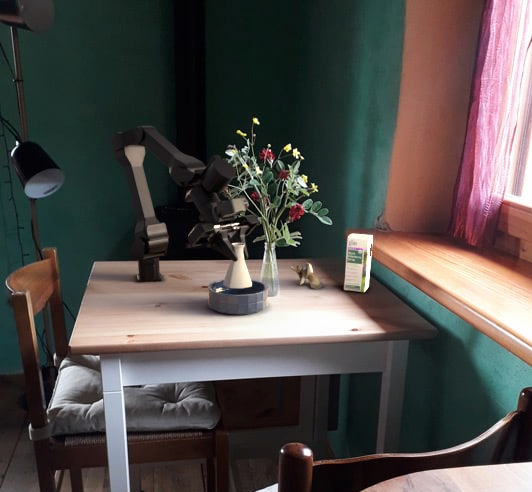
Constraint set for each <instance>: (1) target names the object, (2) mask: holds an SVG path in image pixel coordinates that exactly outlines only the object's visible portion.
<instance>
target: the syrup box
mask: <svg viewBox="0 0 532 492" xmlns="http://www.w3.org/2000/svg"><path fill="white" fill-rule="evenodd" d="M373 236H374V235H373V234H362V233H361V234H360V233H350V234H349V235H348V236H347V239H346V254H345V255H346V256H345V269H344V270H345V271H344V283H343V291H350V292H358V293H365V292H366V291H367V290H368V288H369V286H370V275H371V274H370V273H371V263H372V255H371V256H370V248H371V244H372V245H373V240H374V239H373V238H374V237H373Z"/></svg>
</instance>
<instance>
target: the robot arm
mask: <svg viewBox="0 0 532 492" xmlns="http://www.w3.org/2000/svg"><path fill="white" fill-rule="evenodd" d="M109 146H110V148H111V150H112V154H113V156H114V159H115V160H116V162H118V164H119V165H120V166H121V167H122V168H123V171H124V174H125V178H126V182H127V187H128V190H129V194H130V199H131V201H132V207H133V210H134V213H135V217H136V222H137V223H136V226H135V230H134V242H133V243H132V245H131V246H130V248H129V250H128V252H129V255H130V259H135V260H137V268H138V270H137V271H138V273H137V274H136V278H137V282H138V283H139V282H140V283H141V282H161V281H163V277H162V273H161V272H160V257H163V256H166V255H167V252H168V251H167V250H168V246H169V243H170V241H169V238H170V235H169V233H168V229H167V225H166V223H165V222H160V221H159V220H158V219H157V217H156V213H155V209H154V206H153V201H152V197H151V194H150V193H151V192H150V189H149V186H148V181H147V178H146V177H147V176H146V173H145V169H144V165H143V164H144V160H145V157H146V149H147V150H149V152H150V153H152V154H153V155H154V156H155V157H156V158H157V159H158V160H159V161H160V162H162V163H163V164H164V165H165V166H166V167H167V168H168V171H169V175H170V177H171V179H173V181H174V182H175V183H176V185H178V186H179V187H190V186H192V188H191V189H190V190H186V195H185V198H184V199H185V200H184V201H185V203H192V202H193V204H194V205H195V207H196V208H197V210H198V212H199V214H200V215H199V216H198V219H199V221H200V223H199V222H198V223H196V224H195V226H194V227H193V228H192V229H191V231H190V232H189V234H188V236H187V237H188V238H187V240H188V242H189V244H190V245H191V248H194V247H199V246H202V244H203V241H204V240H203V238H207V241H208V242H207V243H206V245H205V246H206V247H207V248H212V249H213V250H215V251H217V252H218V253H220V254H222V255H224V256H225V257H226V258H228V259H229V260H230V261H231V260H233V261H234V262H236V261H237V260H238V257H237V255H236V253H235V251H234V249H233V247H232V245H231V244H232V243H243V244H245V245H244V248H243V254H244V260H247V259H248V258H249V253H248V249H247V244H246V237H247V236H249V235H250V234H251V233H252V231H253V230H255V228H256V227H257V226H258V225H259V224H260V221H259V219H258V218H257V216H256V215H254V214H248V215H241V216H240V218H238V216H237V215H240V214H241V213H246V212H247V209H248V208H249V206H250V204H249V200H248V199H247V197H246V196H245V195H244V194H242V195H241V194H240V195H238V196H236V197H234V198H231V199H227V200H221V198H219V196H218V194H221V193H223V192H224V191H225V190H226V189H227V187H228V186H229V184H230V183H231V182H232V181H233V179H234V178H235V177H236V174H237V173H236V168H235V167H234V165H233V164H231V163H230V162H228V161H226V160H225V159H223V158H221V155H212V156H211V158H210V160H209V161H208V163H207V164H206V165H205V163H204V162H203V161H201V160H200V159H197V158H196V157H195V156H191V155H189V154H185V153H184V152H181V151H180V150H179V149H178V148H177V147H176V146H175V145H173V143H171V142H170V141H169V140H168V139H167V138H165V136H163V135H162V134H161V133H160V132H159V131H158V130H157V128H156V127H155V126H152V125H138V126H136V127H134V128H131V129H129V130H126V131H117V132H116V131H115V132H114V133H113V134H112V136H111V138H110V140H109ZM216 164H217V165H216ZM245 216H246V217H245ZM237 218H238V220H237ZM236 220H237V221H236ZM203 221H204V222H203ZM234 221H236V222H234ZM228 236H229V237H228Z"/></svg>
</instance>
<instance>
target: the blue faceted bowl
mask: <svg viewBox="0 0 532 492" xmlns="http://www.w3.org/2000/svg"><path fill="white" fill-rule="evenodd" d="M223 282H224V279H220V280H216V281H213V282H211V283H209V284H208V285H207V305H208V307H209V308H210V309H212V310H214V311H216V312H218V313H220V314H226V315H233V316H234V315H235V316H236V315H238V316H239V315H240V316H241V315H251V314H256V313H258V312H261V311H263V310H265V309H266V308H267V306H268V301H269V300H268V298H269V297H268V296H269V295H268V294H269V286H268V284H266V283H264V282H263V281H260V280H255V279H251V282H252V287H246V288H228V287H226V286H224V285H223Z"/></svg>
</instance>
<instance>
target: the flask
mask: <svg viewBox="0 0 532 492" xmlns="http://www.w3.org/2000/svg"><path fill="white" fill-rule="evenodd" d="M231 245H232V247H233V249H234V251H235V253H236V255H237V257H238V260H237V261H236V262H234V261H233V260H231V259H230V262H229V265H228V269H227V271H226V274H225V276H224V279H223V280H224V282H223V285H224V286H226V287H228V288H246V287H252V282H251V280H252V279H251V277H250V273H249V270H248V267H247V264H246V259H244V254H243V248H244V245H245V244H243V243H232V244H231Z"/></svg>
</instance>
